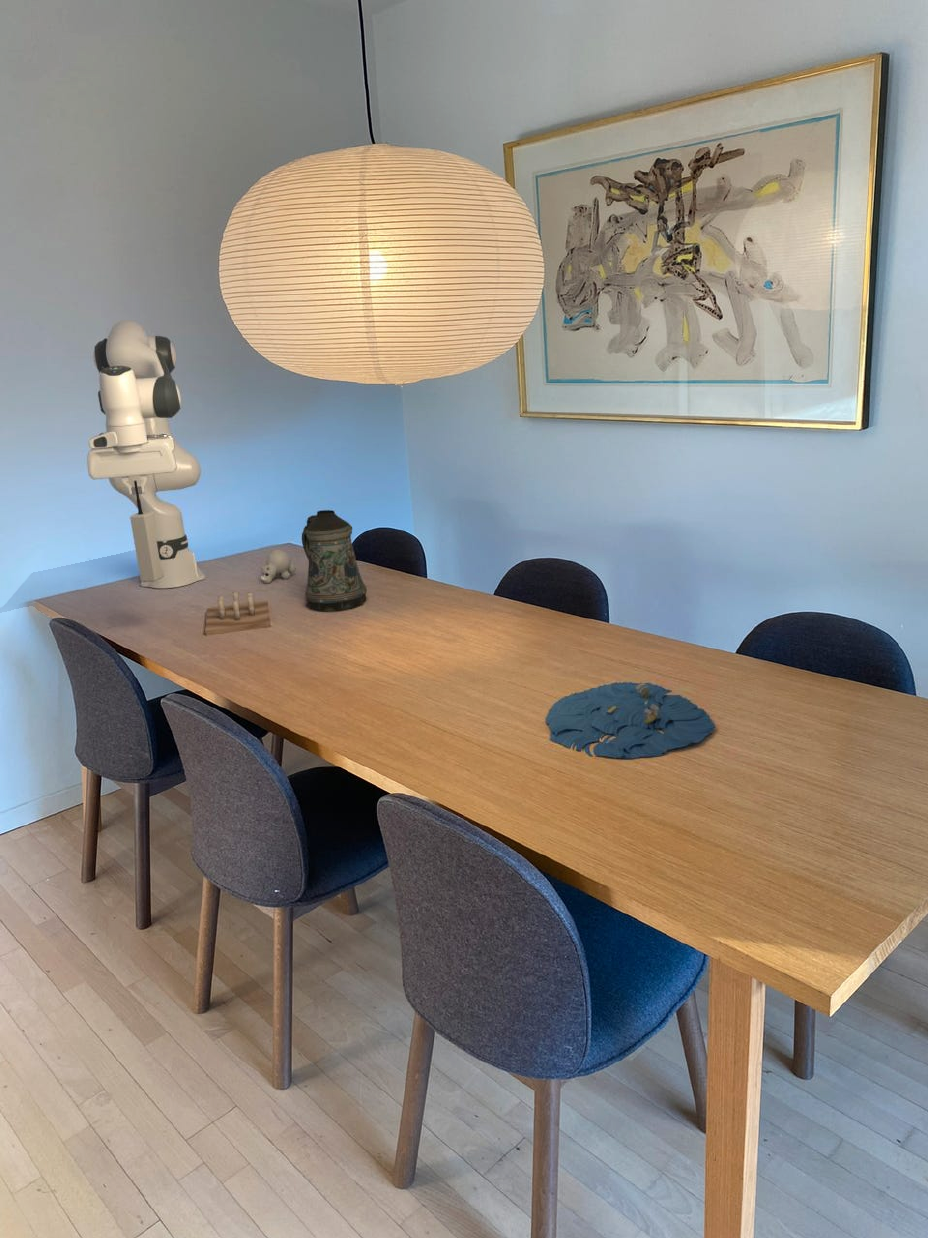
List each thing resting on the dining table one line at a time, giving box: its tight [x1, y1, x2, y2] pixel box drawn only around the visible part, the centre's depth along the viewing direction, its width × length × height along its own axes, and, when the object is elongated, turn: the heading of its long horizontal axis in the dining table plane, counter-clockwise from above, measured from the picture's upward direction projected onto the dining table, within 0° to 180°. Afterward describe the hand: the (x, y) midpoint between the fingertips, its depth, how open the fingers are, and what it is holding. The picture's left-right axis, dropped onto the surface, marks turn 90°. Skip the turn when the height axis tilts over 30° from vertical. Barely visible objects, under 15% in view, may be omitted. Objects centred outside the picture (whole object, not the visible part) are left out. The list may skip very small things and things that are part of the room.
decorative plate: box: [544, 681, 717, 760], centre depth 160 cm, size 30×30×5 cm
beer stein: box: [301, 509, 368, 613], centre depth 238 cm, size 16×19×25 cm
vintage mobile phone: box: [129, 481, 164, 582], centre depth 220 cm, size 4×5×25 cm
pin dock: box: [204, 591, 272, 636], centre depth 232 cm, size 20×16×6 cm
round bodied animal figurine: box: [259, 549, 297, 585], centre depth 267 cm, size 7×12×8 cm, turn 145°
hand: (137, 494), depth 218 cm, fingers closed on vintage mobile phone
